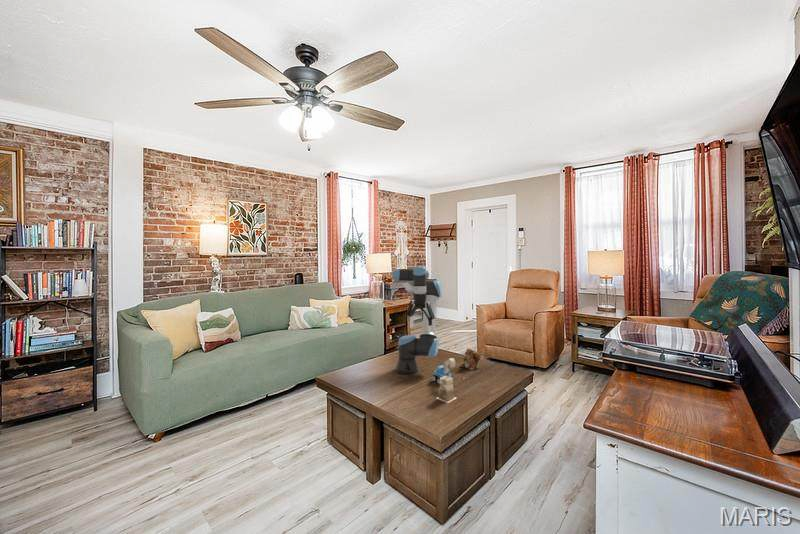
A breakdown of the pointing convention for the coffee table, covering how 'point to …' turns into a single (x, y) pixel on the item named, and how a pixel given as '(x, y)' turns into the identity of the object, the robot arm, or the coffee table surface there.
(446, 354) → the coffee table surface
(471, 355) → the stuffed squirrel
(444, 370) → the toy excavator
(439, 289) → the robot arm
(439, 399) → the pad
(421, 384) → the coffee table surface
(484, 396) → the coffee table surface
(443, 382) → the maple block
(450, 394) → the walnut block
